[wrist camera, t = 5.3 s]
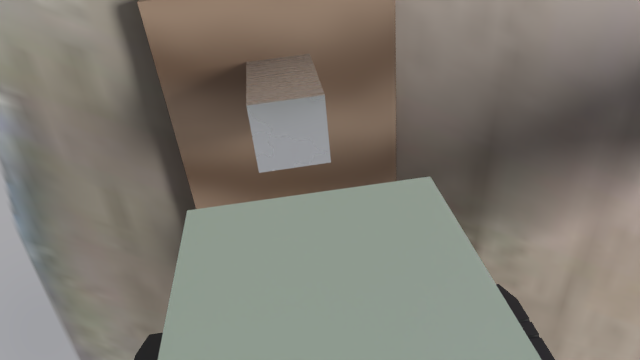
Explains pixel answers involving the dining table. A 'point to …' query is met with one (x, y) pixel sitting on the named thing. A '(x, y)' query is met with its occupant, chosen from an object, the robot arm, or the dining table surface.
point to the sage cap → (337, 282)
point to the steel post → (286, 113)
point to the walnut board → (230, 89)
